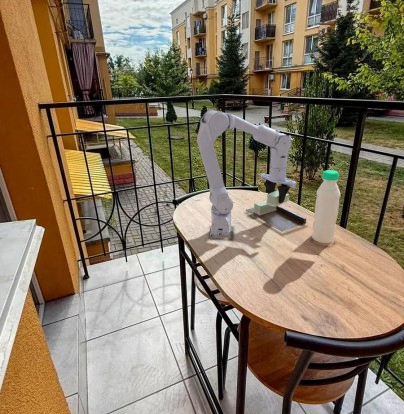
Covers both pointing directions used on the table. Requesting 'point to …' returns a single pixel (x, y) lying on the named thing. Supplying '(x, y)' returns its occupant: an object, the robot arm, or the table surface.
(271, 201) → the pale green block
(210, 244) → the table surface
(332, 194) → the water bottle
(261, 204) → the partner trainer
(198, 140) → the robot arm
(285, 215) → the dark grey tray
